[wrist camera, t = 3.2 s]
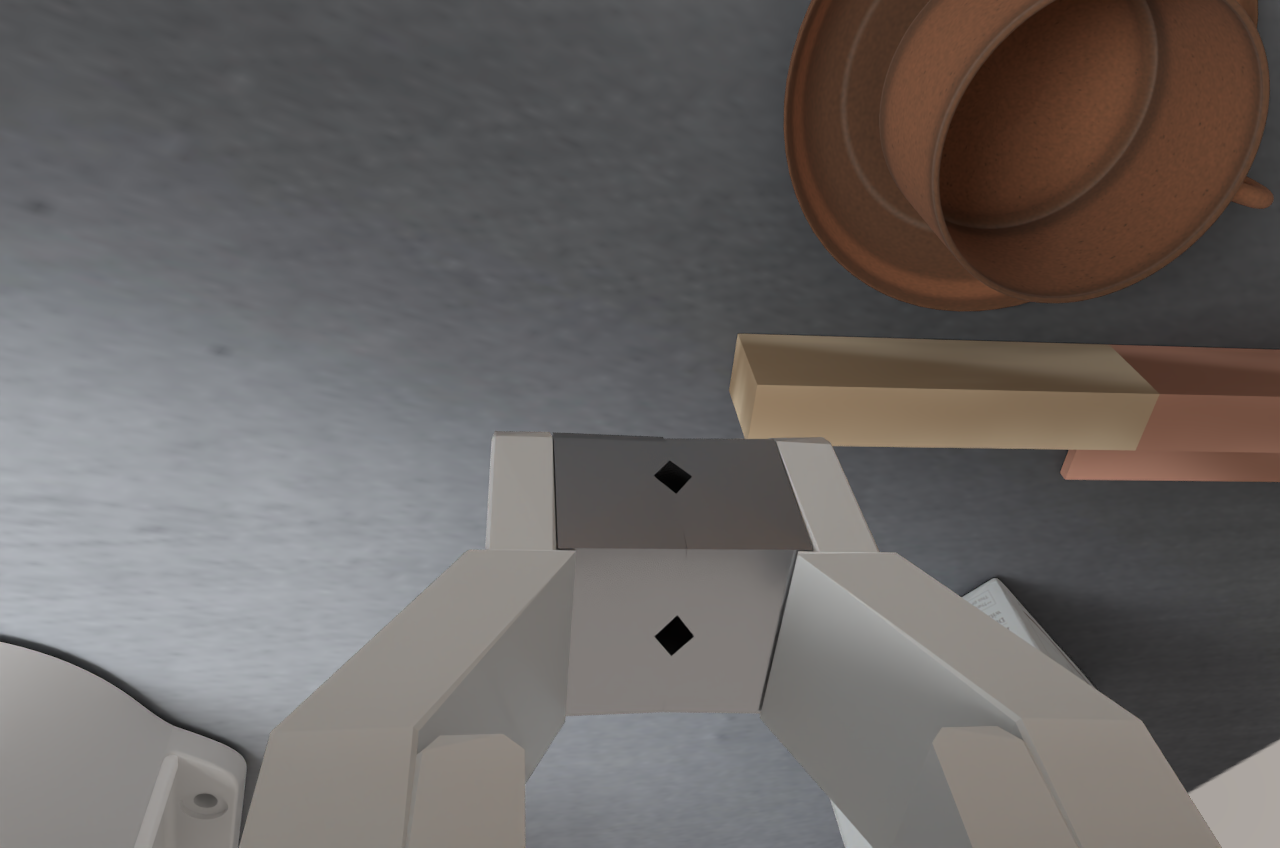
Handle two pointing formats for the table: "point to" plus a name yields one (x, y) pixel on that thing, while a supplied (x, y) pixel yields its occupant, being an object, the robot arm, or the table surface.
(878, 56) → the cup and saucer
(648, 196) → the table surface
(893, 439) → the lane
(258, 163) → the table surface
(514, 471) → the robot arm
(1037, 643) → the supplement box
